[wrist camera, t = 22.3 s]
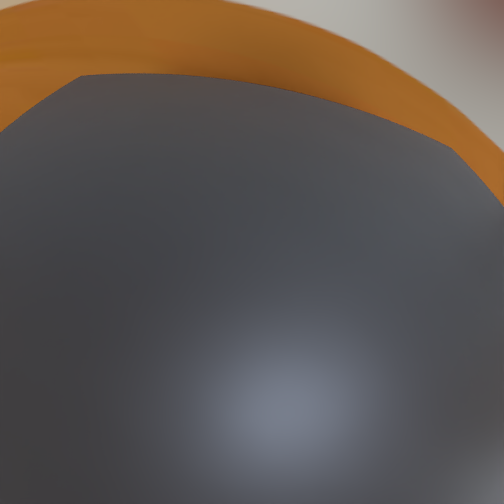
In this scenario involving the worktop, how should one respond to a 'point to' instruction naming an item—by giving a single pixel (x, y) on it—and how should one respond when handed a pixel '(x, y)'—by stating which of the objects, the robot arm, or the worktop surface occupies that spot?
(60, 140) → the grey lid with handle
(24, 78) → the worktop surface
